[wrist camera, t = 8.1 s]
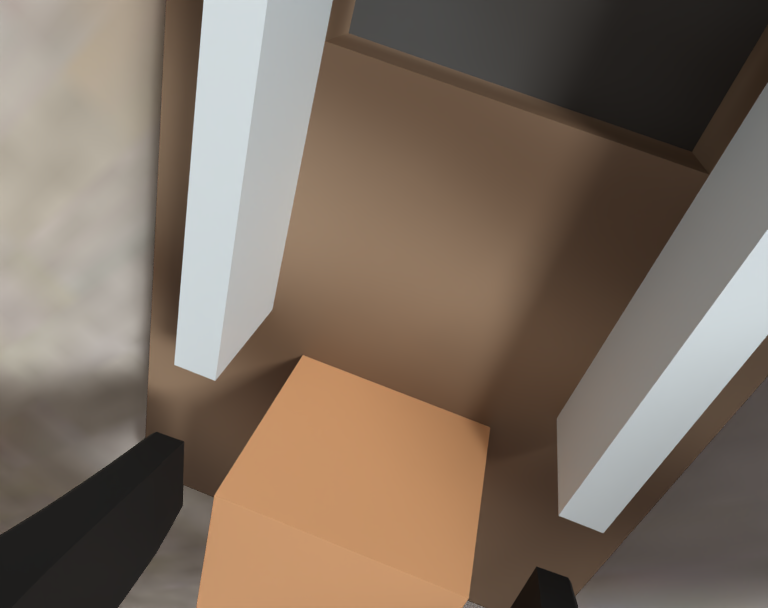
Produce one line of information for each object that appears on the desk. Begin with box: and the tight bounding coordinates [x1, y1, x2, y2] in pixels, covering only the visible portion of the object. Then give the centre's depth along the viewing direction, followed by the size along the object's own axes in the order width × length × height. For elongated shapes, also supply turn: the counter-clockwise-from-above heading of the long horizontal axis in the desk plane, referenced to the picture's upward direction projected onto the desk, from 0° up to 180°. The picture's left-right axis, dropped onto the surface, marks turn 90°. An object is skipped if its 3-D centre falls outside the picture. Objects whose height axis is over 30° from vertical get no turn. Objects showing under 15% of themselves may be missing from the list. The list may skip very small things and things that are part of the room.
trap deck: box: [145, 0, 768, 608], centre depth 11 cm, size 19×12×2 cm, turn 164°
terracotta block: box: [196, 355, 490, 608], centre depth 12 cm, size 4×4×4 cm
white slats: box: [174, 0, 768, 533], centre depth 8 cm, size 12×8×2 cm, turn 164°
